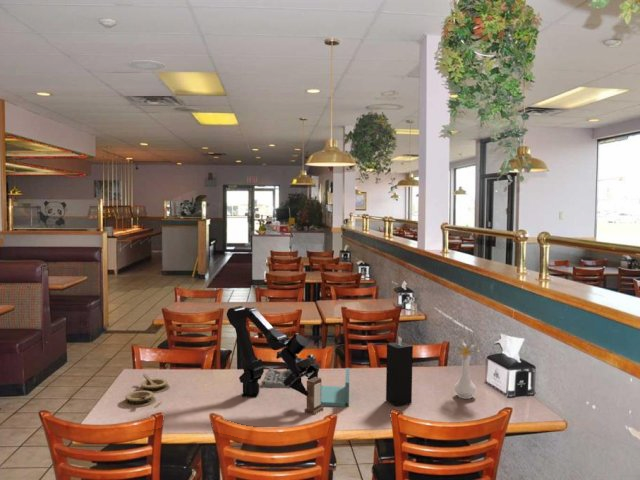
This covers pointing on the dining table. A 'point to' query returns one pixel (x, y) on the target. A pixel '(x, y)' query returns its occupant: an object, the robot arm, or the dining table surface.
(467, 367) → the flower vase
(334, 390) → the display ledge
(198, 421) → the dining table surface
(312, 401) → the photo frame
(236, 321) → the robot arm
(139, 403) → the tableware set
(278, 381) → the wall plaque
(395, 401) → the black square bottle
